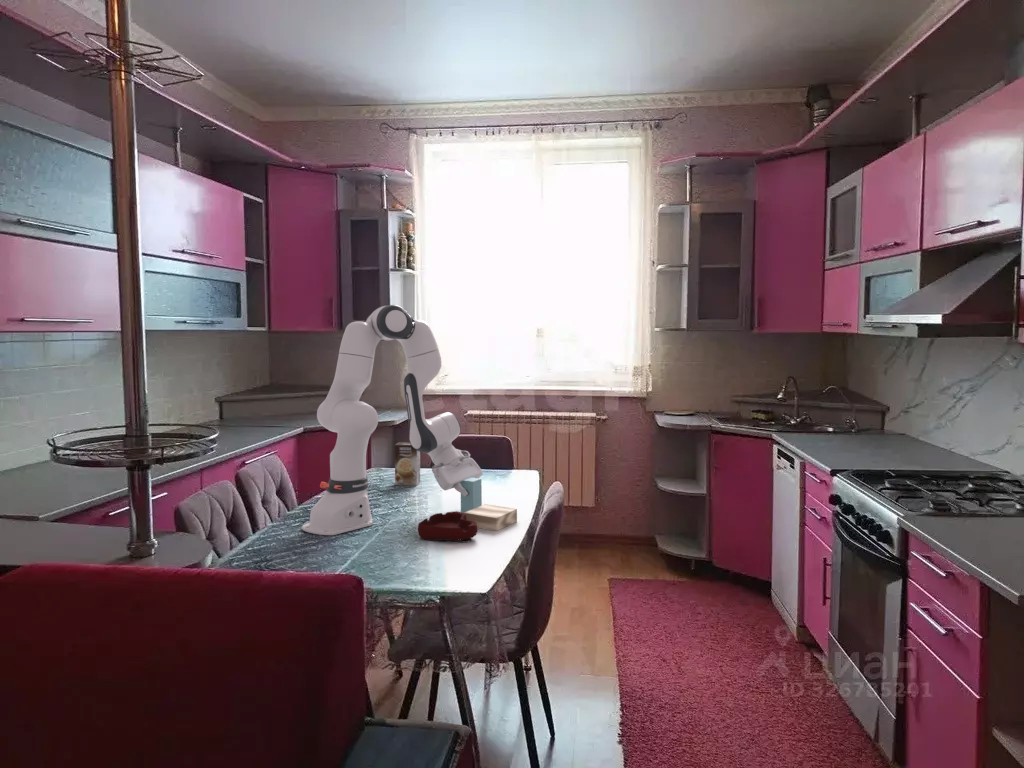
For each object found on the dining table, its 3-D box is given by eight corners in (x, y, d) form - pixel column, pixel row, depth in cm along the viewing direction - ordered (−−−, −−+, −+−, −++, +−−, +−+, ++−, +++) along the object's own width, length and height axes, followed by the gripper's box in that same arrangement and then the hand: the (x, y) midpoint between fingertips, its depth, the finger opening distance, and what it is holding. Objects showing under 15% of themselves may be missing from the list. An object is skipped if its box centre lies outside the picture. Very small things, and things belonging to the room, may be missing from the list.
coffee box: (394, 485, 269) (393, 444, 267) (398, 481, 275) (397, 441, 274) (417, 485, 268) (416, 445, 266) (421, 482, 274) (420, 442, 273)
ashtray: (411, 531, 209) (410, 515, 209) (462, 525, 215) (462, 509, 215) (425, 549, 192) (425, 531, 192) (481, 542, 198) (480, 525, 198)
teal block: (473, 514, 227) (472, 481, 226) (460, 512, 229) (460, 479, 228) (481, 511, 231) (481, 478, 230) (469, 509, 233) (469, 477, 233)
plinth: (496, 531, 208) (496, 518, 208) (464, 525, 214) (463, 512, 214) (516, 521, 218) (516, 508, 218) (485, 516, 225) (485, 504, 224)
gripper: (434, 460, 223) (459, 493, 219) (470, 450, 241) (494, 481, 236) (424, 472, 226) (448, 505, 222) (460, 462, 243) (484, 492, 239)
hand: (472, 493), depth 229 cm, fingers closed on teal block, 5 cm apart
